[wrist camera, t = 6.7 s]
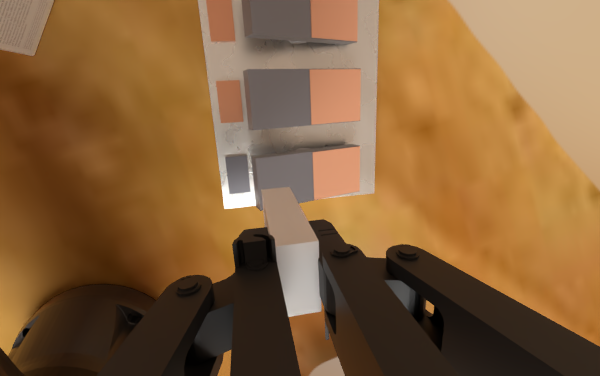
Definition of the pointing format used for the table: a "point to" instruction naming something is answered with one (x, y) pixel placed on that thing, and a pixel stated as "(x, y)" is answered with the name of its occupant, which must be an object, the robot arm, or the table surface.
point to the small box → (23, 24)
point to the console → (281, 55)
